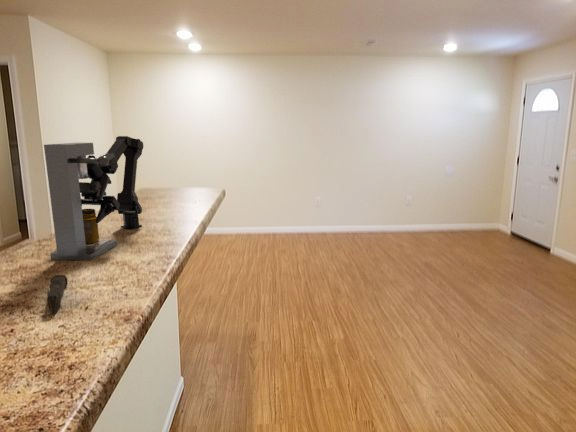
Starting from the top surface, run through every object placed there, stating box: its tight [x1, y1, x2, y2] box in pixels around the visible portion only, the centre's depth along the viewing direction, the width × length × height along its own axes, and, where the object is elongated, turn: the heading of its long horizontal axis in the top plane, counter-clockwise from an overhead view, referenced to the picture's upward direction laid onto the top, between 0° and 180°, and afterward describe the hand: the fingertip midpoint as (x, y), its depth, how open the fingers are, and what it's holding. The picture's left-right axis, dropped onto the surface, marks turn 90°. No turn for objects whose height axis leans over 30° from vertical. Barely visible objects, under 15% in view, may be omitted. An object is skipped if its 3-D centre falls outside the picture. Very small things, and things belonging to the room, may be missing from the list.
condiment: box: [82, 208, 105, 246], centre depth 143 cm, size 7×8×12 cm
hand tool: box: [47, 274, 68, 315], centre depth 103 cm, size 19×4×5 cm, turn 22°
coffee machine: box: [43, 142, 118, 261], centre depth 138 cm, size 20×22×38 cm
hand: (84, 222), depth 141 cm, fingers open, 9 cm apart
